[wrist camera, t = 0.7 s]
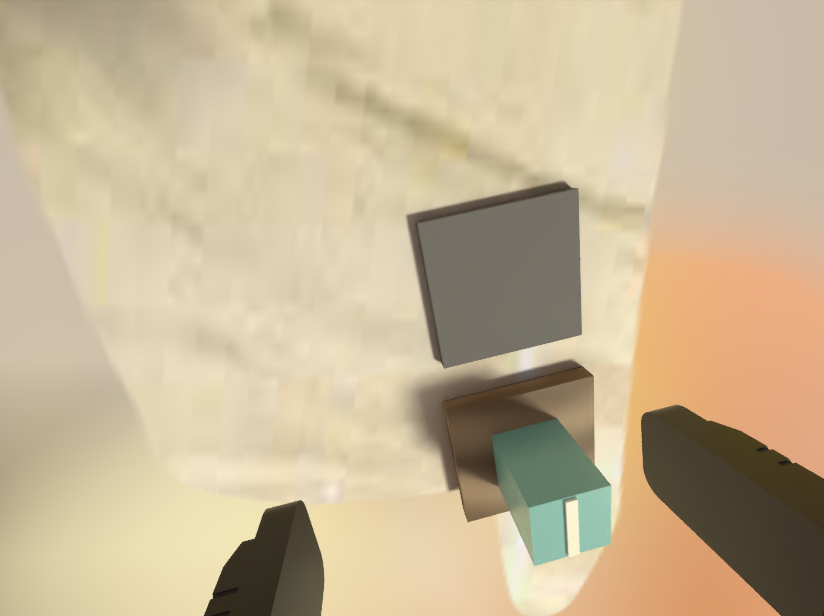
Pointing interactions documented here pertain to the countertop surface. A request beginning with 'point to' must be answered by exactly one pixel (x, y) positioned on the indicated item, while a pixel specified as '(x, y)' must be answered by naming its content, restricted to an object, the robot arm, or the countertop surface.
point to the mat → (504, 276)
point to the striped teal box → (552, 491)
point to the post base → (507, 411)
